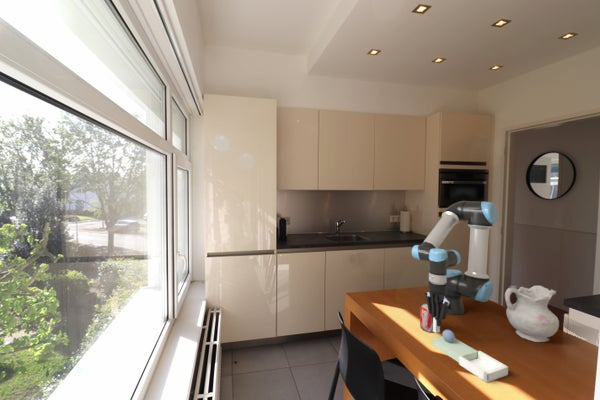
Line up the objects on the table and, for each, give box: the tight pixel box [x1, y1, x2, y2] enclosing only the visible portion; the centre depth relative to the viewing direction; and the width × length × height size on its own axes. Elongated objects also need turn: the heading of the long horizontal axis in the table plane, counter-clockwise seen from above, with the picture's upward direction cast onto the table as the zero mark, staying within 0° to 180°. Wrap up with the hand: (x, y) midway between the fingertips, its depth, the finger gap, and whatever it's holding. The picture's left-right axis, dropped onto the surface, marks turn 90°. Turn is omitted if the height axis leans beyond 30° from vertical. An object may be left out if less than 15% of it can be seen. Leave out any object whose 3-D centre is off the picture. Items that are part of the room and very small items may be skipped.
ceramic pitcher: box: [504, 285, 560, 343], centre depth 132 cm, size 22×20×25 cm
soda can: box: [419, 303, 433, 333], centre depth 138 cm, size 7×7×12 cm
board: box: [432, 336, 479, 363], centre depth 119 cm, size 10×14×3 cm
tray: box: [458, 350, 509, 384], centre depth 107 cm, size 12×11×3 cm
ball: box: [441, 329, 456, 342], centre depth 122 cm, size 5×5×5 cm
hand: (436, 331), depth 128 cm, fingers closed
